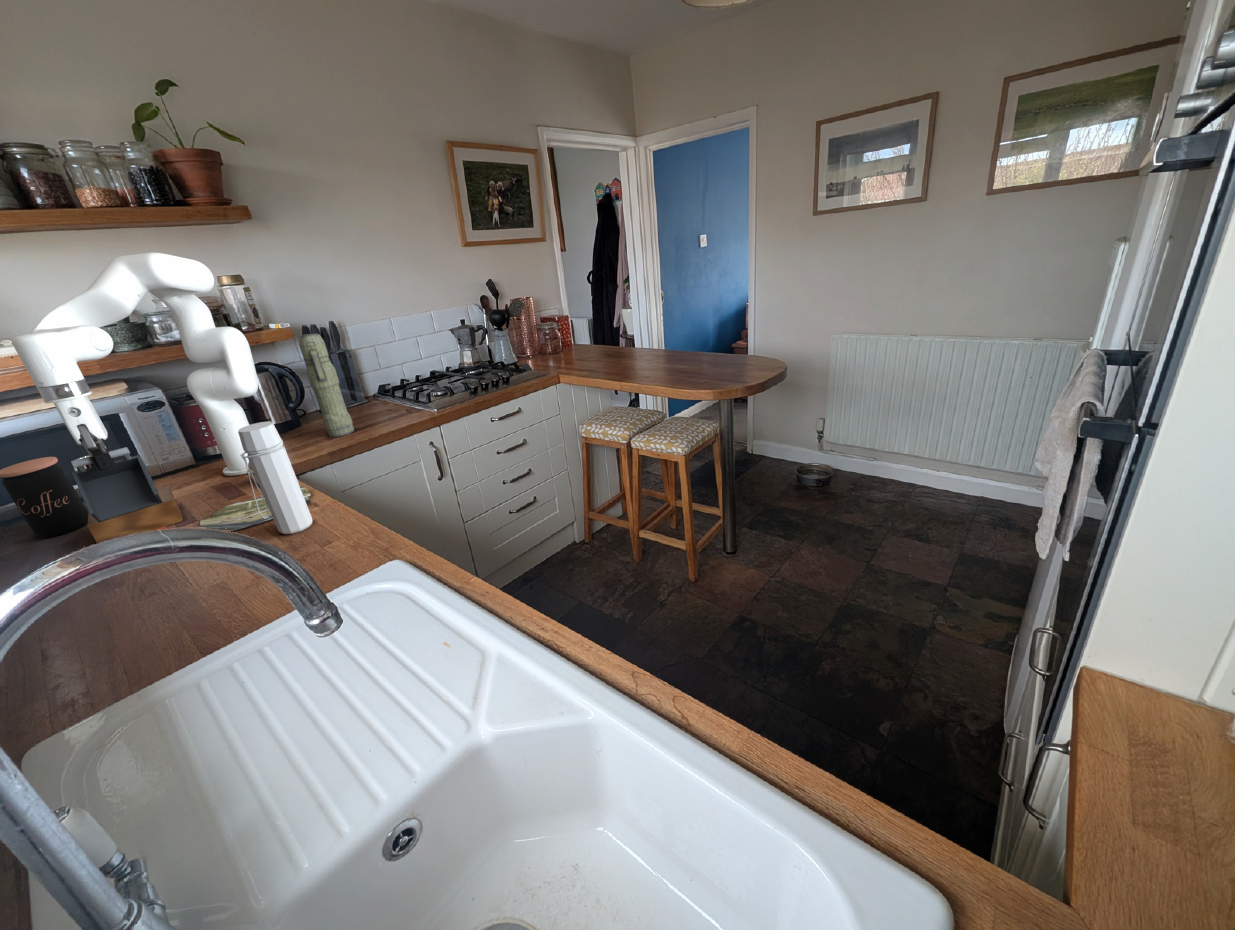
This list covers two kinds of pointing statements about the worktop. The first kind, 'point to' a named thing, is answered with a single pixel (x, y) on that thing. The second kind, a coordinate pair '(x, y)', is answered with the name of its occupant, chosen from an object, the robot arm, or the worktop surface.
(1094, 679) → the worktop surface
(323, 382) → the thermos
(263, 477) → the water bottle
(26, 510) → the coffee jar
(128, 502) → the basket
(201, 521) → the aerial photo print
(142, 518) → the riser
